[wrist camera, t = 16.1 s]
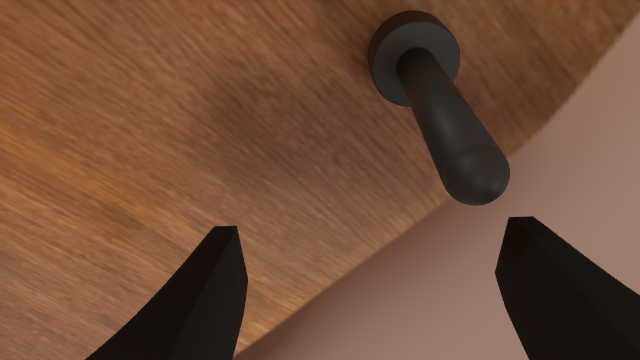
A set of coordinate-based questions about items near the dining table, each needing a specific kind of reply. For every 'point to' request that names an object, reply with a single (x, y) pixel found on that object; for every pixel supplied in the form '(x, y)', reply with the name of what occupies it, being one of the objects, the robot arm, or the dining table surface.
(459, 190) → the black joystick lever
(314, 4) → the dining table surface
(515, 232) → the robot arm
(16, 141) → the dining table surface
